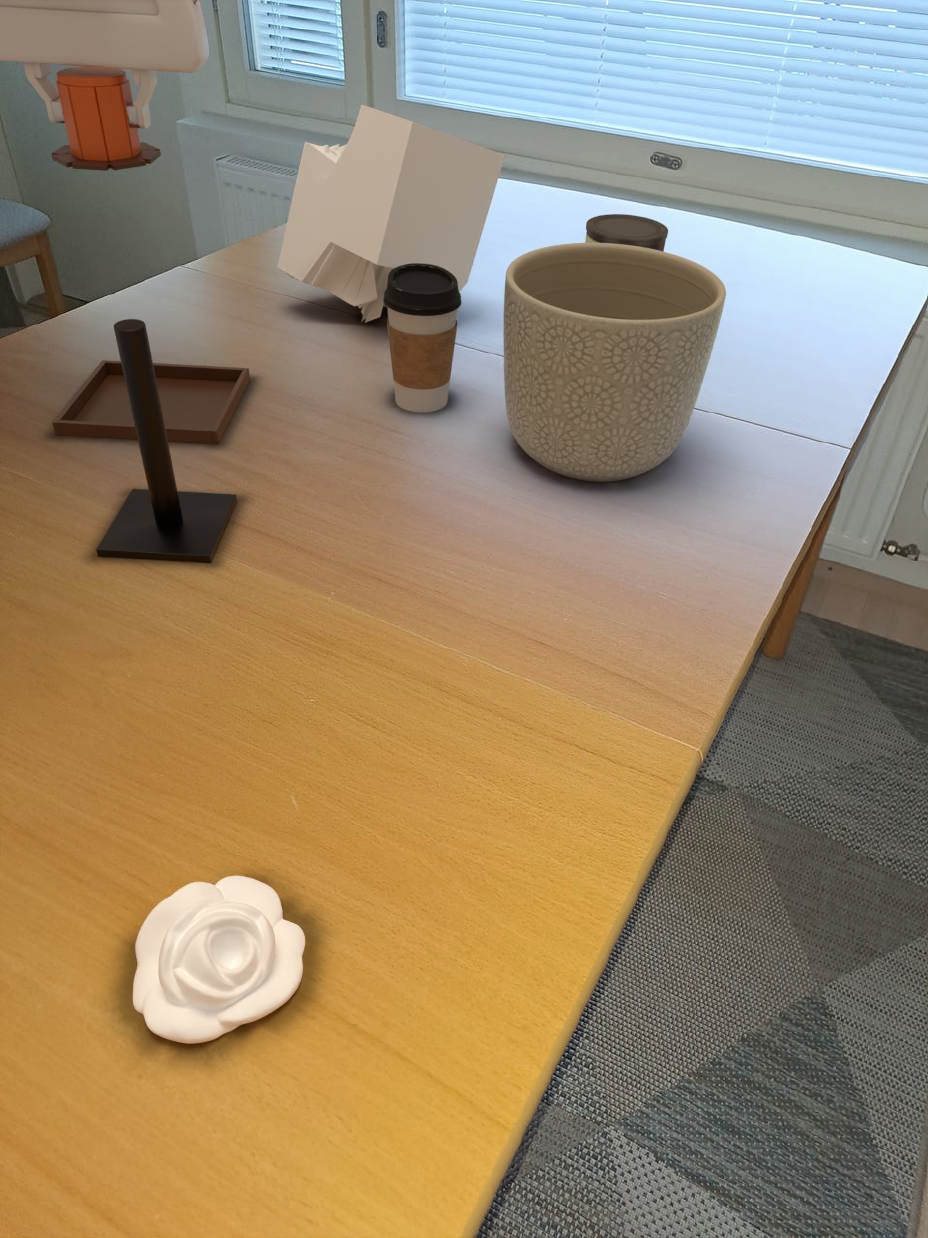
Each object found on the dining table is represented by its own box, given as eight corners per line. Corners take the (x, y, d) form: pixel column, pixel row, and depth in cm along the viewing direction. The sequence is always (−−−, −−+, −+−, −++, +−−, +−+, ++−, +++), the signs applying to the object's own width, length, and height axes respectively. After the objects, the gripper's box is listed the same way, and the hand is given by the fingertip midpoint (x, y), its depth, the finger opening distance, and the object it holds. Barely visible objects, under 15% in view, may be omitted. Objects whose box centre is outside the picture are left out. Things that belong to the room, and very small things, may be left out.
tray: (57, 441, 96) (51, 422, 95) (106, 378, 108) (102, 359, 107) (219, 450, 96) (216, 431, 95) (251, 386, 108) (248, 367, 106)
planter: (454, 443, 99) (460, 267, 87) (587, 392, 110) (609, 229, 98) (592, 531, 88) (622, 341, 75) (726, 464, 98) (771, 288, 86)
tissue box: (267, 289, 124) (308, 86, 113) (358, 303, 135) (403, 120, 125) (356, 340, 113) (411, 121, 102) (447, 351, 124) (505, 154, 113)
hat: (39, 166, 79) (18, 79, 74) (76, 141, 85) (59, 59, 81) (140, 172, 79) (125, 85, 74) (170, 147, 85) (158, 65, 81)
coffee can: (665, 338, 123) (685, 230, 114) (609, 355, 118) (626, 244, 109) (612, 313, 130) (628, 208, 120) (557, 328, 125) (569, 220, 116)
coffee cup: (442, 385, 110) (446, 258, 100) (468, 417, 104) (474, 286, 94) (375, 394, 108) (372, 265, 98) (398, 428, 102) (397, 294, 92)
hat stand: (99, 563, 81) (40, 347, 68) (135, 501, 88) (88, 297, 76) (212, 569, 81) (174, 355, 68) (238, 507, 88) (209, 303, 75)
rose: (165, 836, 54) (324, 864, 53) (177, 879, 57) (328, 906, 56) (82, 995, 46) (266, 1032, 45) (101, 1036, 49) (274, 1071, 48)
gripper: (206, -68, 74) (227, 123, 83) (-46, -83, 74) (2, 109, 83) (184, -62, 69) (208, 140, 78) (-85, -79, 69) (-30, 125, 78)
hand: (100, 124), depth 80 cm, fingers closed on hat, 5 cm apart
